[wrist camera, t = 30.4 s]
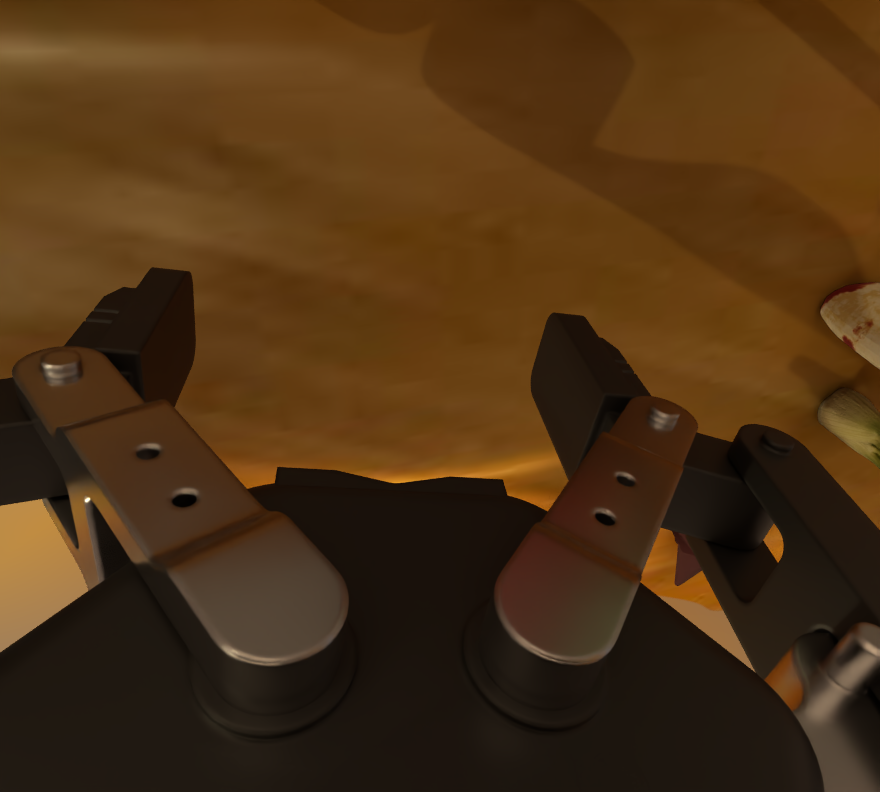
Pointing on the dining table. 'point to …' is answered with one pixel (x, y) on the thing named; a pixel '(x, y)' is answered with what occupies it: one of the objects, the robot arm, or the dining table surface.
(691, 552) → the icecream
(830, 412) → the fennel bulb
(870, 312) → the food model
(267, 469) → the dining table surface
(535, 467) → the dining table surface
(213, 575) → the robot arm
